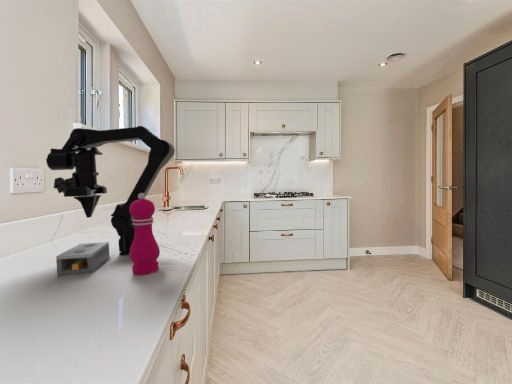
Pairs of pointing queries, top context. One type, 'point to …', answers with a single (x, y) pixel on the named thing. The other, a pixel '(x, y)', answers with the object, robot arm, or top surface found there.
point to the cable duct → (82, 263)
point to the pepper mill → (143, 237)
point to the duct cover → (83, 250)
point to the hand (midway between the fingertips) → (89, 217)
